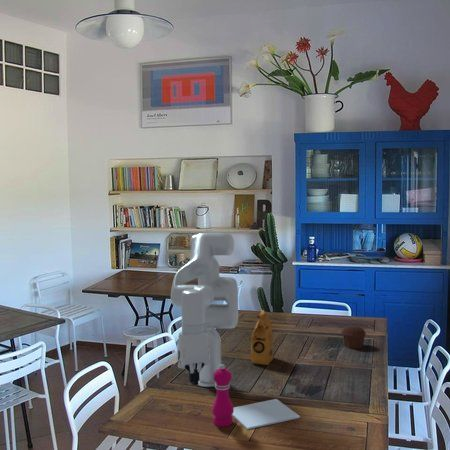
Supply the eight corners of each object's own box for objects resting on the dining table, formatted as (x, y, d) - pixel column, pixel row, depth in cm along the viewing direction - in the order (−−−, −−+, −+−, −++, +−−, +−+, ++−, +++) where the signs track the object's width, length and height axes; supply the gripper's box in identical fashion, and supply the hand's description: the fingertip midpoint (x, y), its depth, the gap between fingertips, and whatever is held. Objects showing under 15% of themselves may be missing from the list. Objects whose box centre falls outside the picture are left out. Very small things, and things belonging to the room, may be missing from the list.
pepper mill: (233, 417, 179) (232, 360, 178) (234, 427, 172) (233, 367, 170) (212, 418, 179) (211, 360, 177) (212, 427, 172) (211, 368, 170)
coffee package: (247, 364, 232) (247, 315, 231) (254, 355, 244) (254, 308, 242) (269, 366, 229) (269, 316, 228) (275, 357, 241) (275, 310, 239)
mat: (226, 410, 185) (226, 408, 185) (276, 400, 193) (276, 398, 193) (247, 429, 170) (247, 427, 170) (299, 417, 178) (299, 416, 178)
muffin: (363, 342, 261) (364, 323, 260) (367, 349, 250) (367, 329, 249) (339, 342, 262) (339, 322, 261) (342, 349, 251) (342, 329, 250)
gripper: (210, 322, 175) (211, 376, 177) (167, 328, 169) (168, 383, 171) (219, 328, 168) (220, 383, 170) (175, 334, 162) (176, 391, 164)
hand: (194, 383), depth 170 cm, fingers closed
